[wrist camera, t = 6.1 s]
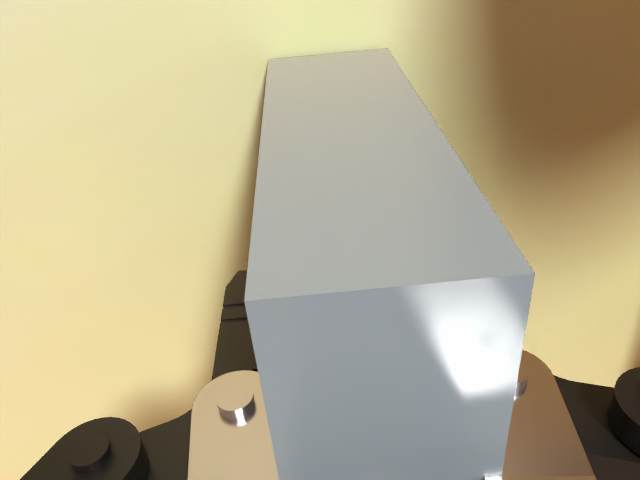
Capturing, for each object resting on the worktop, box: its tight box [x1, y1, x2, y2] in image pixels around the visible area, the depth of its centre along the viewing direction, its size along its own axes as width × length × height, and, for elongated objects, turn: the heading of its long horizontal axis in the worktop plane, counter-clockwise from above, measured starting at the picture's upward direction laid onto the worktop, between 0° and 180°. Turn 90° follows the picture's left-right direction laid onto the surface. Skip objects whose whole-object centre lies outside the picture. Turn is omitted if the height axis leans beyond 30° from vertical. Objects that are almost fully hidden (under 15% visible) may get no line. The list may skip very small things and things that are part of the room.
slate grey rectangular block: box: [244, 48, 535, 480], centre depth 10 cm, size 8×2×8 cm, turn 5°
